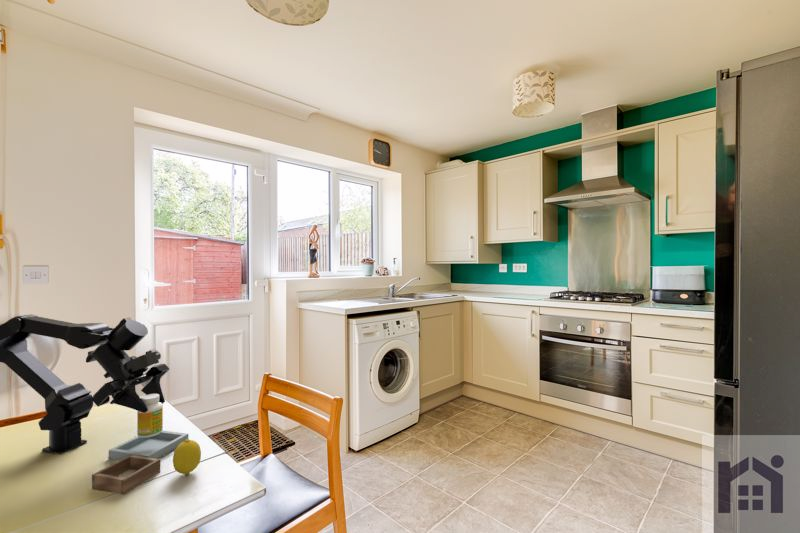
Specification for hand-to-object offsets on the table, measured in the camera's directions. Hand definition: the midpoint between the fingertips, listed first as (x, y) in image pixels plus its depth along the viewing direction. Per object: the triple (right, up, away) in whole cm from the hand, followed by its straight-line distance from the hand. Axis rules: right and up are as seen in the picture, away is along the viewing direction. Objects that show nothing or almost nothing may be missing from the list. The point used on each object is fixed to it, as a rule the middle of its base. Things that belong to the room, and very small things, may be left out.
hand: (155, 407), depth 93 cm
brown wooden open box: (+3, -11, -13) cm, 17 cm away
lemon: (+15, -11, -11) cm, 21 cm away
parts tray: (-1, -11, 0) cm, 11 cm away
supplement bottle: (-1, -7, 0) cm, 7 cm away
